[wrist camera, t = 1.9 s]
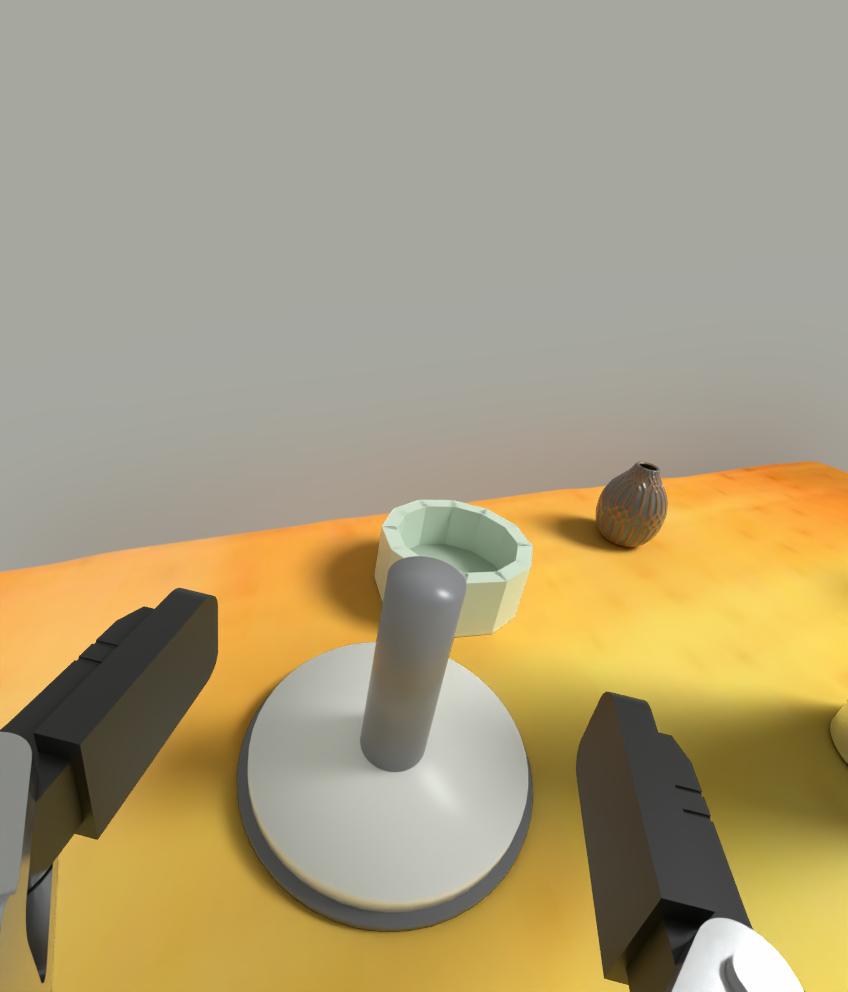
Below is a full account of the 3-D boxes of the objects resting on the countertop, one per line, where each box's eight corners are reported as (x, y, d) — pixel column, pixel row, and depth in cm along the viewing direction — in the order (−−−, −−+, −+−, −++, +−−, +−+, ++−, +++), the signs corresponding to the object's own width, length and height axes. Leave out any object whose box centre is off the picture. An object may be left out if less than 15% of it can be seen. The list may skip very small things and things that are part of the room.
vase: (576, 521, 59) (601, 451, 55) (625, 521, 61) (653, 453, 57) (612, 556, 53) (642, 480, 49) (665, 554, 55) (698, 482, 51)
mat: (394, 620, 39) (395, 616, 39) (582, 774, 30) (584, 769, 30) (179, 740, 28) (179, 735, 27) (379, 1042, 19) (381, 1038, 18)
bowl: (441, 533, 51) (450, 488, 49) (542, 597, 45) (559, 549, 42) (346, 573, 43) (353, 522, 41) (454, 659, 36) (469, 604, 34)
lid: (394, 622, 38) (421, 477, 32) (573, 768, 30) (649, 606, 24) (193, 736, 27) (183, 549, 22) (381, 1011, 19) (440, 820, 14)
